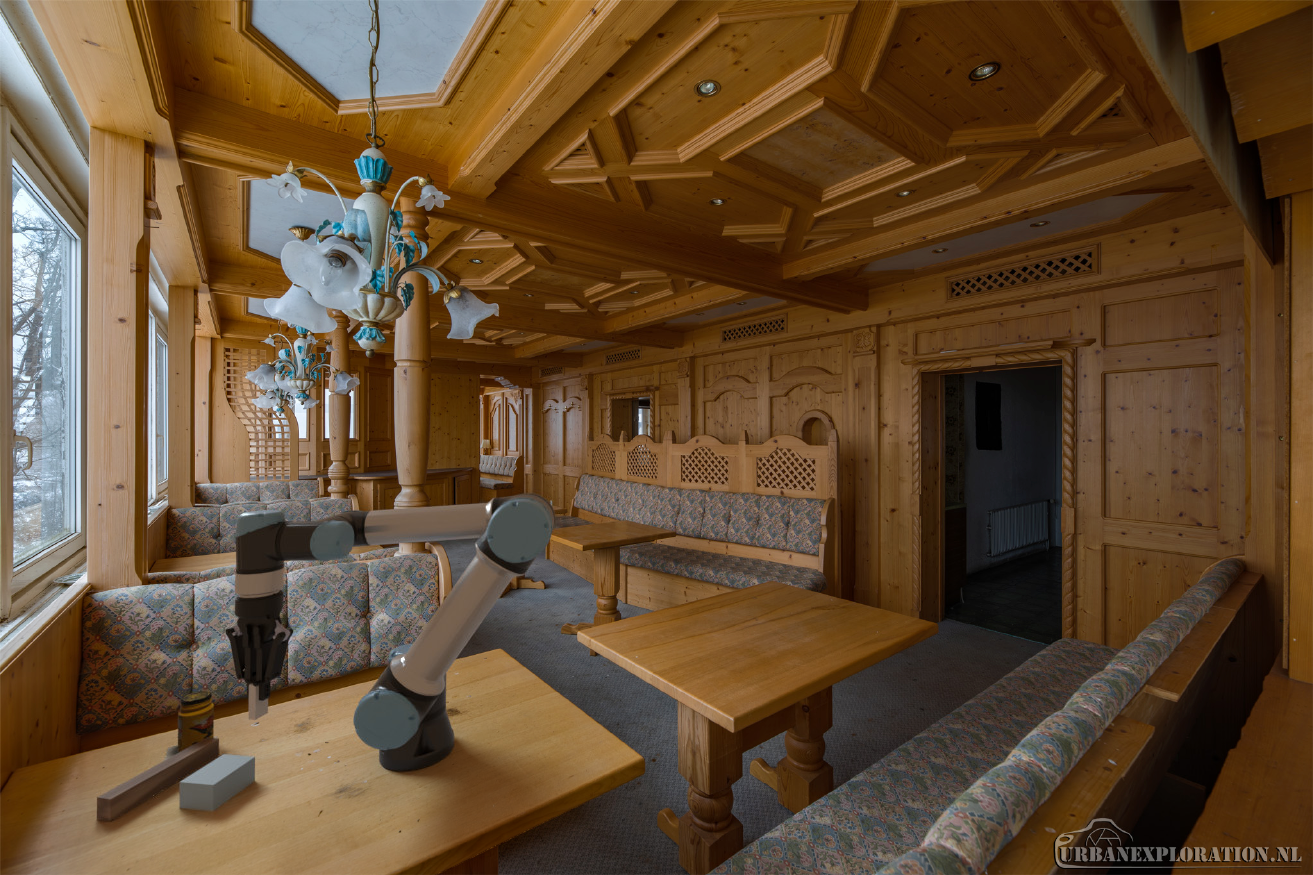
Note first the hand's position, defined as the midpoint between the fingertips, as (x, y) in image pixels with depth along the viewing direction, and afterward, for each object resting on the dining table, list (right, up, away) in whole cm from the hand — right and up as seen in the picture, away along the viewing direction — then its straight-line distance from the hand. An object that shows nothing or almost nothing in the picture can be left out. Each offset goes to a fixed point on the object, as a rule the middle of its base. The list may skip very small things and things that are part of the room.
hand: (258, 715), depth 103 cm
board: (-22, -16, +4) cm, 27 cm away
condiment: (-27, -16, +16) cm, 35 cm away
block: (-9, -16, +2) cm, 18 cm away
